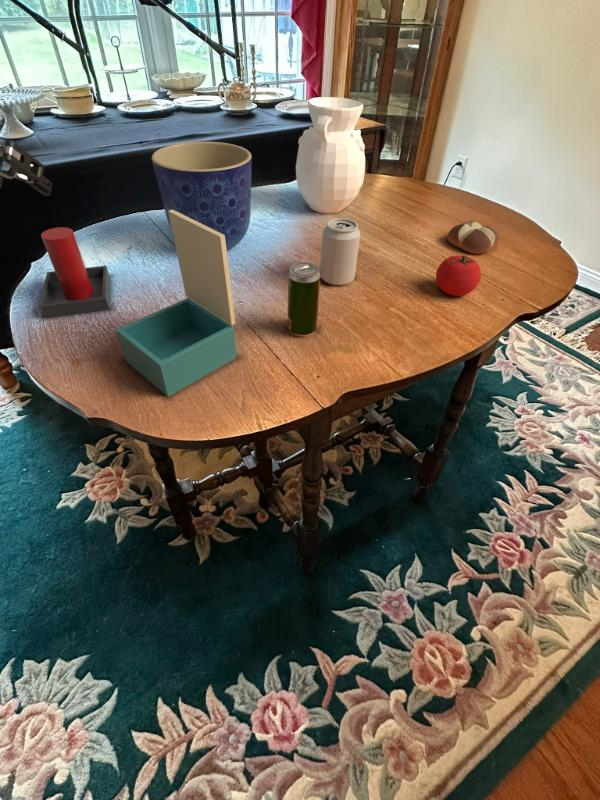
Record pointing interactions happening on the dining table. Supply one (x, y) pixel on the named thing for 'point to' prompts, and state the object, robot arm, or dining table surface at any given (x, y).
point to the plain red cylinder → (67, 263)
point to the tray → (61, 306)
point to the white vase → (331, 155)
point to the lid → (203, 265)
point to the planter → (207, 185)
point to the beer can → (303, 298)
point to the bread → (473, 237)
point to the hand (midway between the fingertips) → (24, 186)
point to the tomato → (458, 275)
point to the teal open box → (177, 345)
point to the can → (339, 251)
